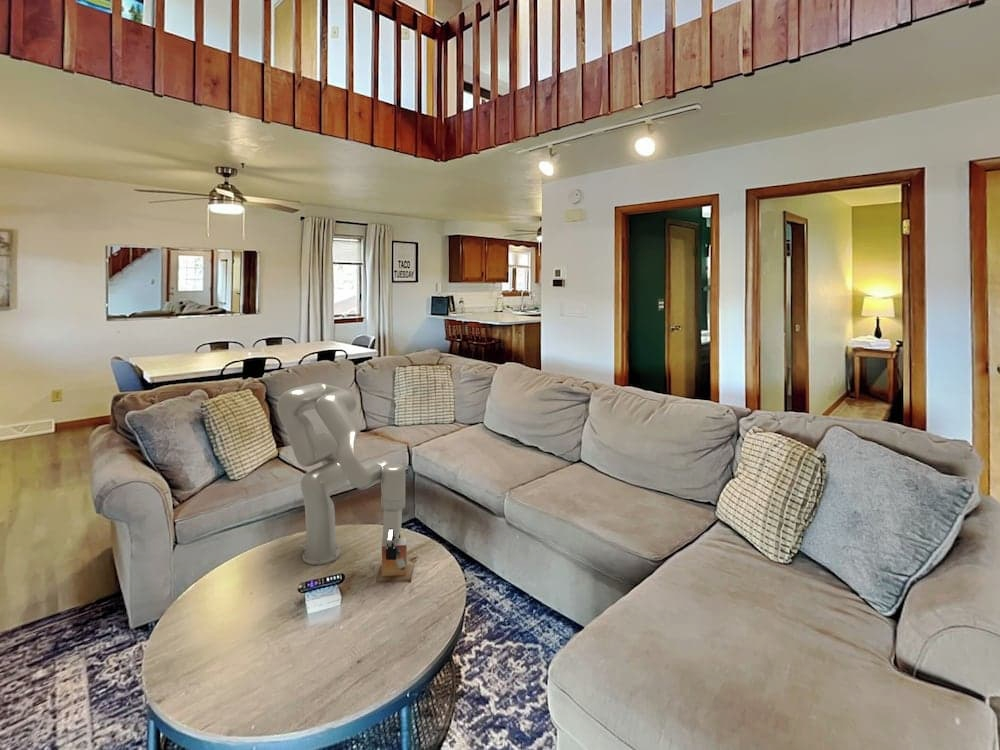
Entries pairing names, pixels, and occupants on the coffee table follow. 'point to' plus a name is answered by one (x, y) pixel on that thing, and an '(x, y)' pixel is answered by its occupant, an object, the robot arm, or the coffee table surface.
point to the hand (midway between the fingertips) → (393, 551)
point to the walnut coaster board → (395, 578)
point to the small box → (401, 559)
